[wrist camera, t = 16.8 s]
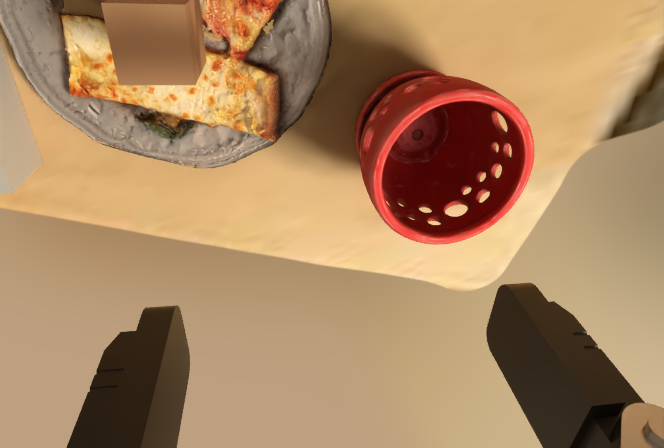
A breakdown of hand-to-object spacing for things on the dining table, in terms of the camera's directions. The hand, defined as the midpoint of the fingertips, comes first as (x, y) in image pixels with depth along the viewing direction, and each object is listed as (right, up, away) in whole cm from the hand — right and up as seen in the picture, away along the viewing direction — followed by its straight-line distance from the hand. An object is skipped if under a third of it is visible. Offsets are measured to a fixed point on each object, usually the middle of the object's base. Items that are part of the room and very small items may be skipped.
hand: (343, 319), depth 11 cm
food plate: (-13, +19, +26) cm, 35 cm away
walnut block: (-13, +18, +24) cm, 32 cm away
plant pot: (+8, +12, +33) cm, 36 cm away
